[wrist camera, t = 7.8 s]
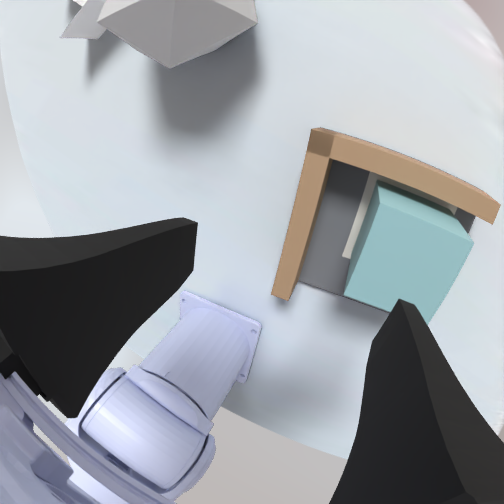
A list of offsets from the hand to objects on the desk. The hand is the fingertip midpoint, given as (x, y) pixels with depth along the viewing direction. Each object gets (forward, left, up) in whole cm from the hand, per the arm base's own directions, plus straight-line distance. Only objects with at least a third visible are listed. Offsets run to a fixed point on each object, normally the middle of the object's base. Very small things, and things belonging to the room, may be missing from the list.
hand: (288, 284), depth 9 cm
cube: (0, -5, -9) cm, 11 cm away
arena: (-1, -4, -10) cm, 11 cm away
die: (+11, +10, -10) cm, 18 cm away
